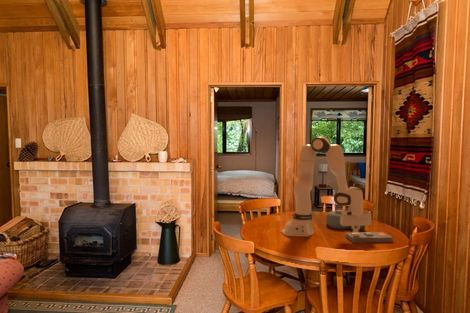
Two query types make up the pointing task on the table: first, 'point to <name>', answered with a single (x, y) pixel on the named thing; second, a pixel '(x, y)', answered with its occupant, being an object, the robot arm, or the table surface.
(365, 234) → the olive green button
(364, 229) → the food container
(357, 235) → the cream button
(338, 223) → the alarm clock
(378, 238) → the button board
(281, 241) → the table surface
